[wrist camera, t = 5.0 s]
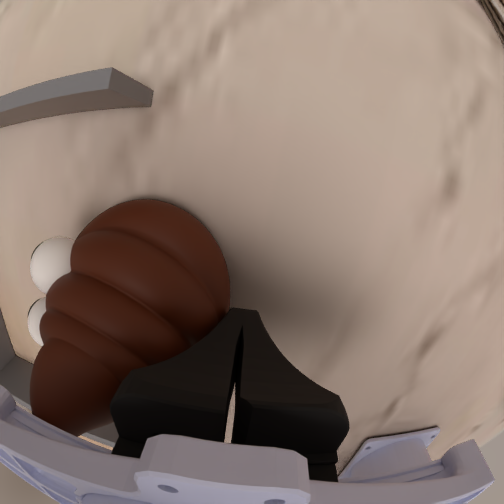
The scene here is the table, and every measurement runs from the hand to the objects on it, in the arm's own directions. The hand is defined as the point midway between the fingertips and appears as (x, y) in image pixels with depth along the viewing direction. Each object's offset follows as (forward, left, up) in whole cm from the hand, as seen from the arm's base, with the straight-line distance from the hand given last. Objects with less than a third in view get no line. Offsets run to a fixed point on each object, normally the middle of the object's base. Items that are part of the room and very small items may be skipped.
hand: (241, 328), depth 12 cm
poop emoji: (0, +5, -2) cm, 6 cm away
